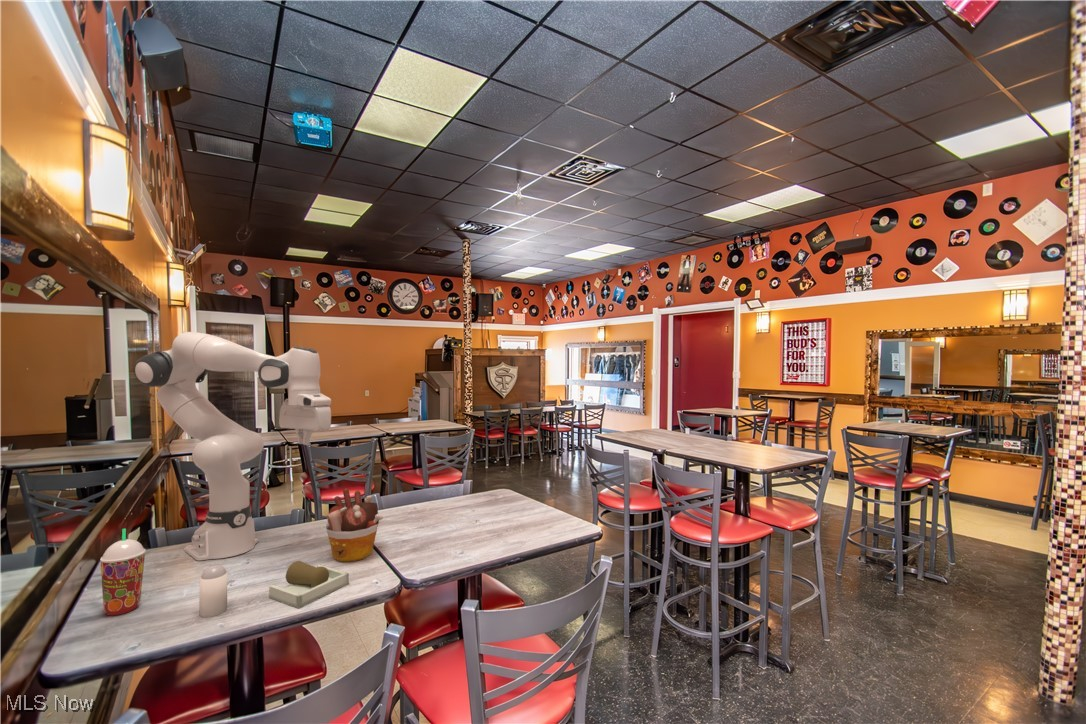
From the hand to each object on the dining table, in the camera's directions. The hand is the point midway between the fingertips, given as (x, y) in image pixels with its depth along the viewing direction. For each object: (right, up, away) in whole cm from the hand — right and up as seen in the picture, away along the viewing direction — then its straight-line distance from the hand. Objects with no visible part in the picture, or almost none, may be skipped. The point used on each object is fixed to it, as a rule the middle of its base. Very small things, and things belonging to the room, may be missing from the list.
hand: (303, 443), depth 141 cm
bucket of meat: (+12, -37, +7) cm, 40 cm away
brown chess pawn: (+4, -34, -13) cm, 37 cm away
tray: (+11, -37, -18) cm, 42 cm away
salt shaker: (-8, -36, -28) cm, 47 cm away
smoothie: (-31, -37, -28) cm, 55 cm away
